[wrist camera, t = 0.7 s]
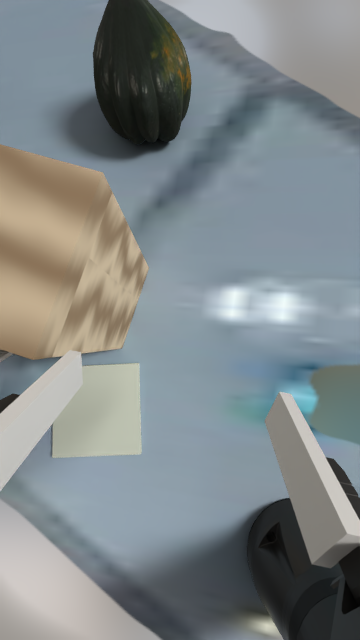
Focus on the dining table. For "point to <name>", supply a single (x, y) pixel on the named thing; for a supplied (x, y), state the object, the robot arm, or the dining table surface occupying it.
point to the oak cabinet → (63, 259)
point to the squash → (140, 72)
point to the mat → (101, 414)
